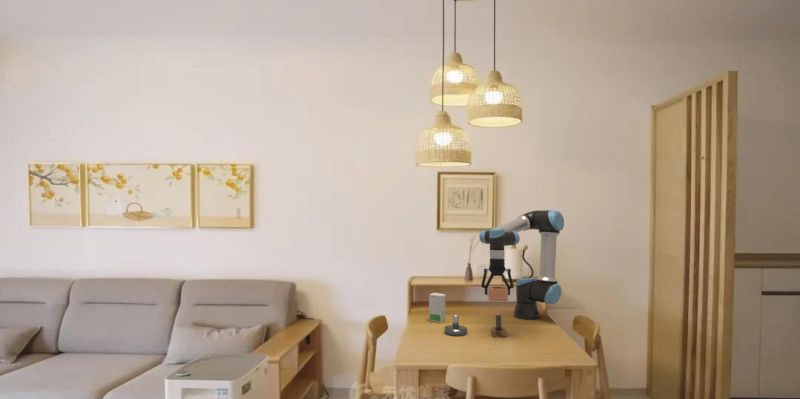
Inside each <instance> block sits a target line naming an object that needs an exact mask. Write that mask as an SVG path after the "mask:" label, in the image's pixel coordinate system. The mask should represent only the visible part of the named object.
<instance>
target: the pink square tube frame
mask: <svg viewBox="0 0 800 399" xmlns="http://www.w3.org/2000/svg"><path fill="white" fill-rule="evenodd" d="M488 289H489V302H506V301H508V302H509V295H508V289H507V286H506V285H505V286H502V285H498V286H497V285H495V286H493V285H489V286H488Z"/></svg>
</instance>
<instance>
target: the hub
mask: <svg viewBox="0 0 800 399" xmlns="http://www.w3.org/2000/svg"><path fill="white" fill-rule="evenodd" d="M459 322H460V315H459V314H458V313H453V314H452V324H450V325H446V326H444V327H443V329H444V330H443V332H444V335H447V336H450V337H465V336H467V335H468V327H466V326H464V325H460V323H459Z"/></svg>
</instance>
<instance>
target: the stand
mask: <svg viewBox="0 0 800 399" xmlns="http://www.w3.org/2000/svg"><path fill="white" fill-rule="evenodd" d="M507 333H508V332H507V330H506V328H505V327H502V315H500V314H496V315H495V327H492V326H491V327H490V334H491V336H492V338H507V337H508V335H507Z"/></svg>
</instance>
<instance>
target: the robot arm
mask: <svg viewBox="0 0 800 399" xmlns="http://www.w3.org/2000/svg"><path fill="white" fill-rule="evenodd" d="M564 227H565V220H564V216H563V214H562V212H560V211H558V210H554V209H553V210H552V209H551V210H549V209H548V210H547V209H546V210H532V211H528V212H526V213H523V214H521V215H519V216H517V218H515V219H513V220H510V221H509V222H506V223H504V224H501V225H499V226H496V227H494V228H492V227H491V228H490V229H489V230H487V229H485V230H484V229H483V230H481V231H480V232H479V241H480V243H482V244H486V245H489V266H488V267H487V268H485V267H484V268H483V276H482V281H481V285H480V287H481V288H482V289H484V295H485V296H486V302H487V303H488V302H490V301H489V289H488V286H490V284H491V282H492V280H493V278H494V277H501V278H502V280H503V282H504V285H505V287H506V288H507V289H508V296H510V295H511V289H514V287H515V288H516V290H515V291H516V292H515V293H516V294H515V296H516V298H515V299H516V301H515V303H516V304H515V306H514V310H513V317H515V318H517V319H521V320H537V319H540V311H539V309H538V305H537V302H539V303H544V304H547V305H548V304H549V305H554V304H556V303H558V302H559V300H560V299H561V297H562V288H561V285H560V284H558V280H557V278H556V262H557V260H556V258H557V237H558V236H559V235H560V232H561V231H563V229H564ZM529 230H538V234H540V236H541V237H540V254H539V255H540V257H539V275H538V277H537V278H536V277H526V278H525V277H524V278H523V277H522V278H518V279H517V280H516V281H515V282H516V284H515V285H516V286H514V282H513V278H512V274H511V271H512V269H511V268H506V267H505V246H506V247H507V246H516V245H518V244H519V242H520V240H521V239H520V238H521V237H520V234H519V233H520V232H521V231H523V232H526V231H529ZM489 272H490V274H489V276H488V279H487V274H488V273H489ZM505 272H506V273H507V277H508V280H507V279H506V277H505V275H504V273H505ZM486 280H487V281H486ZM508 281H509V283H508ZM505 302H506V303H509V300H508V301H505Z"/></svg>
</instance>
